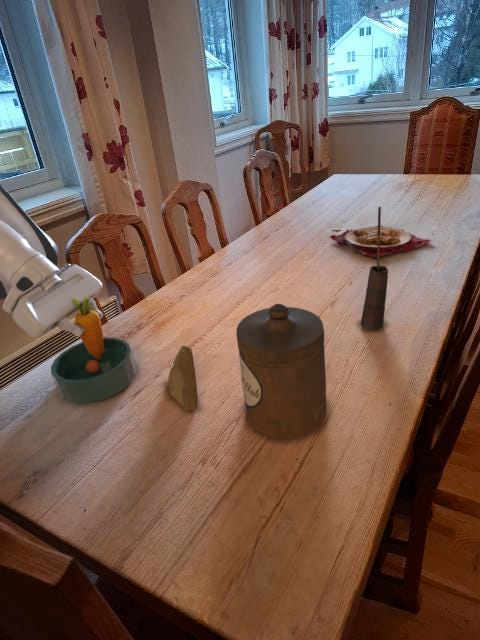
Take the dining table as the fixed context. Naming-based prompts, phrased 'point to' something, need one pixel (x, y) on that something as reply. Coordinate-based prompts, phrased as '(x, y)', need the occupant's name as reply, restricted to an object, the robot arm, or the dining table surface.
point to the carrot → (90, 328)
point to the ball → (92, 366)
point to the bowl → (99, 385)
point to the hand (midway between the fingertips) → (91, 326)
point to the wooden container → (283, 370)
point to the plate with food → (389, 240)
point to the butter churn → (375, 292)
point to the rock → (184, 379)
